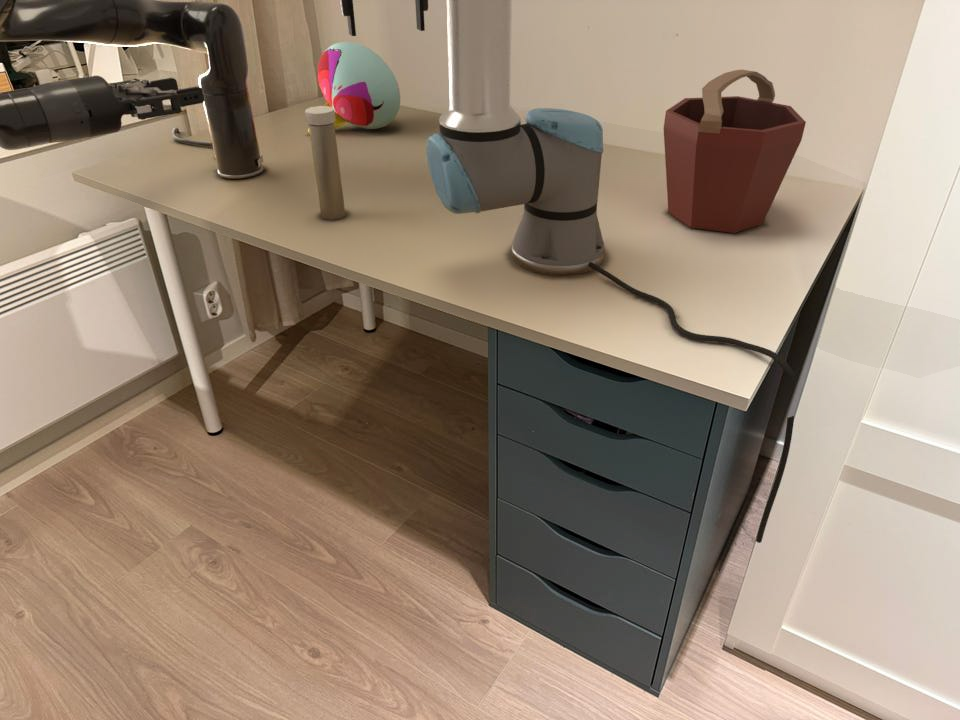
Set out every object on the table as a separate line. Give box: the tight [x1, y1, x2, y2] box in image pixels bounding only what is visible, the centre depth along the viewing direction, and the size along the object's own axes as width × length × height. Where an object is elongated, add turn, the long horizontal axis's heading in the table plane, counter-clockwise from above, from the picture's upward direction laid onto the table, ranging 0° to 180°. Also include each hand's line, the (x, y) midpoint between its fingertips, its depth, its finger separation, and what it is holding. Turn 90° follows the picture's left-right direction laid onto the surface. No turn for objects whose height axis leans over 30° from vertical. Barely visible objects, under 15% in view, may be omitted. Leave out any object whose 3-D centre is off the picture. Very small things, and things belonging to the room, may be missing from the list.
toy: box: [307, 41, 401, 134], centre depth 176 cm, size 24×24×20 cm
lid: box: [304, 105, 336, 125], centre depth 123 cm, size 5×5×2 cm
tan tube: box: [307, 122, 346, 221], centre depth 128 cm, size 4×4×19 cm
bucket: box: [663, 69, 807, 234], centre depth 125 cm, size 24×22×25 cm
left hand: (189, 89), depth 105 cm, fingers open, 8 cm apart
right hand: (387, 32), depth 136 cm, fingers open, 13 cm apart
